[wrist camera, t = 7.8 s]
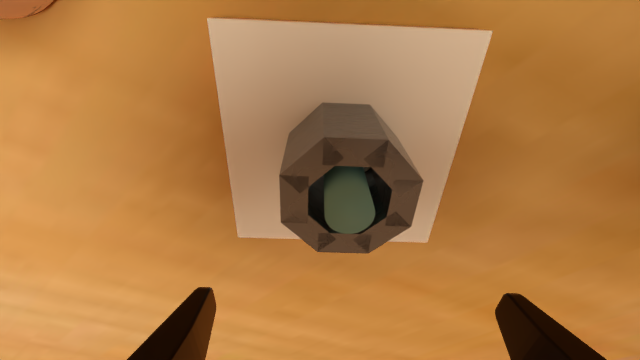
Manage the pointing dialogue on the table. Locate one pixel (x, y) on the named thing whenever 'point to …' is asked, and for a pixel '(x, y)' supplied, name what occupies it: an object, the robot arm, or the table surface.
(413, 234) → the post block
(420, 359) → the table surface
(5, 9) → the teacup with lid
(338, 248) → the steel collar
